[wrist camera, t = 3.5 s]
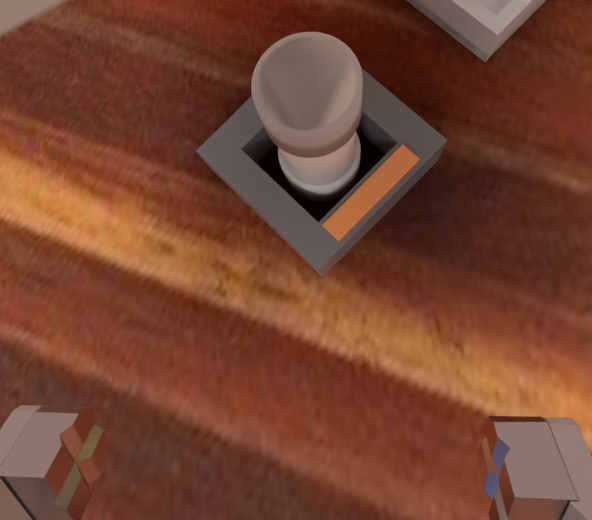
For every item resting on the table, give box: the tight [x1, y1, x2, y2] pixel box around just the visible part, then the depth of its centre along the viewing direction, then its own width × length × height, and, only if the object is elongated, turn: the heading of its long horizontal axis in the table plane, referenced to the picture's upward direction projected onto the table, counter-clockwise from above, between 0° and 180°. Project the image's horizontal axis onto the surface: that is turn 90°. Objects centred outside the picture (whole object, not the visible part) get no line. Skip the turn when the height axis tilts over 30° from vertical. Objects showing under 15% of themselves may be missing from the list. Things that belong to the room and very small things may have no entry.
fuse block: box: [196, 31, 448, 278], centre depth 23 cm, size 8×8×3 cm
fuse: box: [251, 32, 363, 202], centre depth 21 cm, size 4×4×8 cm
